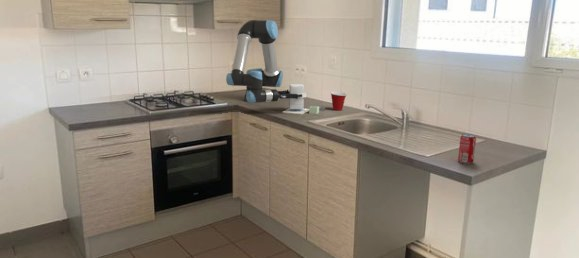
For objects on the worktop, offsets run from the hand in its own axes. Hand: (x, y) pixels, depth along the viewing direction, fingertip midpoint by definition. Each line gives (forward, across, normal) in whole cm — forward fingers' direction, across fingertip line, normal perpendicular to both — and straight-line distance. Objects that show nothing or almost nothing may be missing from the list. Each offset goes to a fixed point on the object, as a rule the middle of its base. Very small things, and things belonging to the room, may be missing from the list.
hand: (302, 93), depth 286 cm
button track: (+7, +7, -12) cm, 15 cm away
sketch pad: (-4, 0, -12) cm, 12 cm away
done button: (+4, +10, -11) cm, 15 cm away
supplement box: (-4, 0, -9) cm, 10 cm away
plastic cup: (+24, +6, -12) cm, 27 cm away
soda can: (+19, +121, -12) cm, 123 cm away
